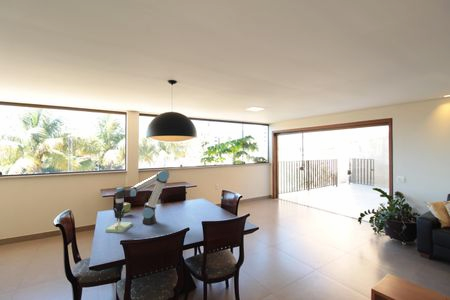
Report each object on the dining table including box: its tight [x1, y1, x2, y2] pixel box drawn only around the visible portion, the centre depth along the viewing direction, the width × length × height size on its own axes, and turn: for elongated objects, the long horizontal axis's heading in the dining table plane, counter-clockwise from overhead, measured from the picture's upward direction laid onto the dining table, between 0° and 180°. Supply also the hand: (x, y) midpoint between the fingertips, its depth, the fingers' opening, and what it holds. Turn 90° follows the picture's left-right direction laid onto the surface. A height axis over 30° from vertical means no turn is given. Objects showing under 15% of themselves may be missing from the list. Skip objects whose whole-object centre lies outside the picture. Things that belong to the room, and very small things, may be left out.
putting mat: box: [105, 221, 134, 234], centre depth 222 cm, size 17×22×3 cm
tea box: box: [116, 201, 131, 217], centre depth 269 cm, size 15×10×15 cm
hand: (119, 224), depth 222 cm, fingers closed
